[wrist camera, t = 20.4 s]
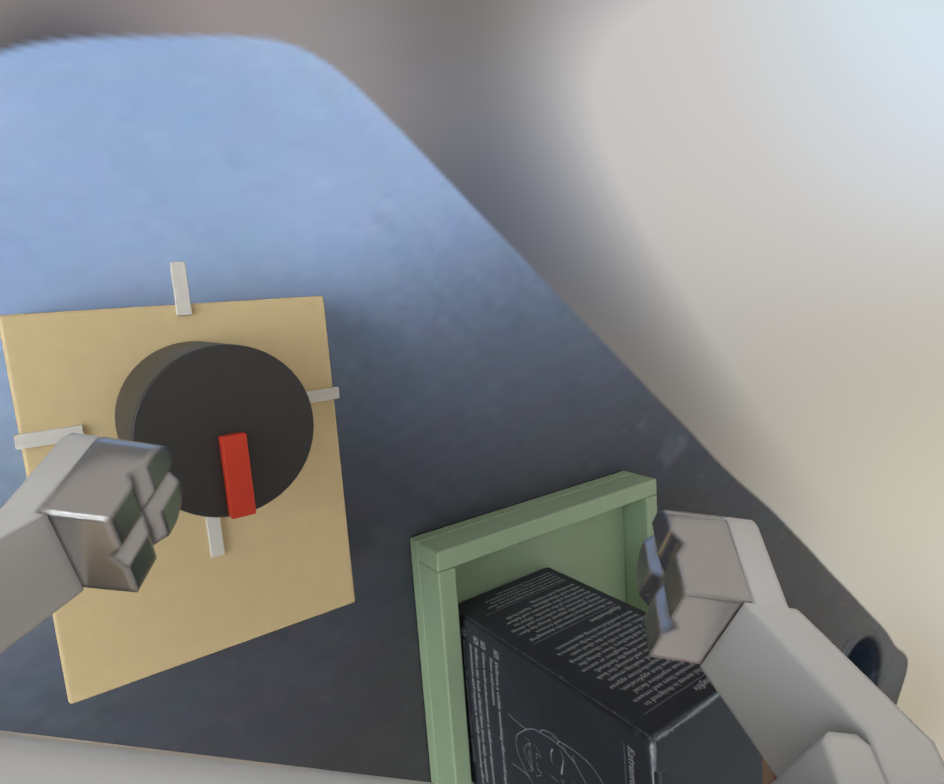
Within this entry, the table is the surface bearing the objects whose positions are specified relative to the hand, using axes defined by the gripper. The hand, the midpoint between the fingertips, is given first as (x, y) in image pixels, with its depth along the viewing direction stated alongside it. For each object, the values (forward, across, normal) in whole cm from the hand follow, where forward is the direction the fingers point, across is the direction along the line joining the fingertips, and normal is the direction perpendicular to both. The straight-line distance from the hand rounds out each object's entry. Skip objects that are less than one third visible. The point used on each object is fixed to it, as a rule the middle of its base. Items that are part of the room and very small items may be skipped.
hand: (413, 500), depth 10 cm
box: (+7, -4, +18) cm, 20 cm away
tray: (+9, -6, +19) cm, 22 cm away
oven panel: (+6, +8, +7) cm, 12 cm away
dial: (+5, +7, +4) cm, 9 cm away
